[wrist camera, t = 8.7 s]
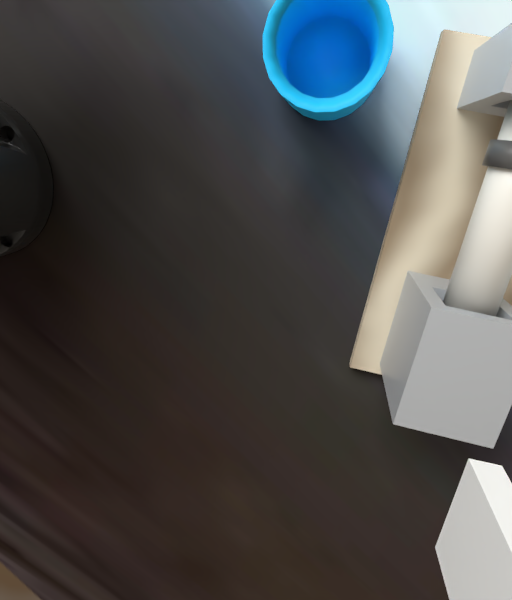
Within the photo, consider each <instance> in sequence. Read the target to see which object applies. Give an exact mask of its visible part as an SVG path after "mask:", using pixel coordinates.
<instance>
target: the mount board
mask: <svg viewBox="0 0 512 600" xmlns="http://www.w3.org/2000/svg"><path fill="white" fill-rule="evenodd" d="M490 38H492V37H487V36H481V35H474V34H468V33H462V32H456V31H450V30H443V31H442V32H441V35H440V38H439V42H438V45H437V49H436V53H435V56H434V60H433V63H432V67H431V71H430V74H429V78H428V81H427V85H426V89H425V92H424V96H423V100H422V103H421V107H420V110H419V114H418V118H417V121H416V125H415V128H414V132H413V136H412V139H411V143H410V146H409V150H408V154H407V157H406V161H405V164H404V168H403V172H402V175H401V179H400V182H399V186H398V190H397V193H396V197H395V200H394V204H393V208H392V211H391V215H390V219H389V222H388V226H387V229H386V233H385V237H384V240H383V244H382V247H381V251H380V255H379V258H378V262H377V265H376V269H375V273H374V276H373V280H372V283H371V287H370V291H369V294H368V298H367V301H366V305H365V309H364V312H363V316H362V319H361V323H360V327H359V330H358V334H357V338H356V341H355V345H354V348H353V352H352V356H351V359H350V367H351V368H355V369H359V370H364V371H368V372H372V373H376V374H381V375H382V372H381V368H380V361H381V358H382V354H383V351H384V348H385V344H386V341H387V338H388V335H389V331H390V328H391V325H392V321H393V318H394V315H395V311H396V308H397V305H398V301H399V298H400V295H401V291H402V288H403V285H404V281H405V278H406V275H407V272H408V271H412V272H417V273H421V274H426V275H431V276H435V277H440V278H445V279H449V280H450V279H451V276H452V273H453V270H454V267H455V264H456V261H457V258H458V255H459V252H460V249H461V246H462V243H463V240H464V237H465V234H466V231H467V228H468V225H469V222H470V219H471V216H472V213H473V210H474V207H475V204H476V201H477V198H478V195H479V192H480V189H481V186H482V183H483V180H484V177H485V174H486V171H487V168H488V167H487V166H483V165H482V163H483V160H484V157H485V154H486V151H487V148H488V144H489V141H490V140H492V139H497V138H498V135H499V132H500V129H501V126H502V123H503V120H504V117H502V116H496V115H490V114H485V113H479V112H474V111H468V110H463V109H457V106H458V102H459V99H460V96H461V92H462V89H463V86H464V82H465V79H466V76H467V72H468V69H469V66H470V63H471V59H472V56H473V53H474V50H475V49H477V48H478V47H479V46H481V45H482V44H484V43H485V42H486V41H488V40H489V39H490ZM503 299H504V300H506V301H507V302H508V303H509V304H510V305H511V306H512V275H511V278H510V281H509V283H508V286H507V288H506V291H505V294H504V296H503Z"/></svg>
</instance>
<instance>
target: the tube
mask: <svg viewBox="0 0 512 600" xmlns="http://www.w3.org/2000/svg"><path fill="white" fill-rule="evenodd" d="M482 165H483V166H487V167H488V168H487V171H486V174H485V177H484V180H483V183H482V186H481V189H480V192H479V195H478V198H477V201H476V204H475V207H474V210H473V213H472V216H471V219H470V222H469V225H468V228H467V231H466V234H465V237H464V240H463V243H462V246H461V249H460V252H459V255H458V258H457V261H456V264H455V267H454V270H453V273H452V276H451V279H450V282H449V285H448V288H447V290H446V293H445V296H444V299H443V303H444V304H445V305H446V306H449V307H454V308H459V309H463V310H468V311H472V312H477V313H481V314H486V315H490V316H495V317H496V315H497V312H498V310H499V307H500V304H501V302H502V299H503V296H504V294H505V291H506V288H507V286H508V283H509V281H510V278H511V275H512V100H510V102H509V105H508V108H507V111H506V114H505V117H504V120H503V123H502V126H501V129H500V132H499V135H498V138H497V139H492V140H490V141H489V144H488V148H487V151H486V154H485V157H484V160H483V163H482Z"/></svg>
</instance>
